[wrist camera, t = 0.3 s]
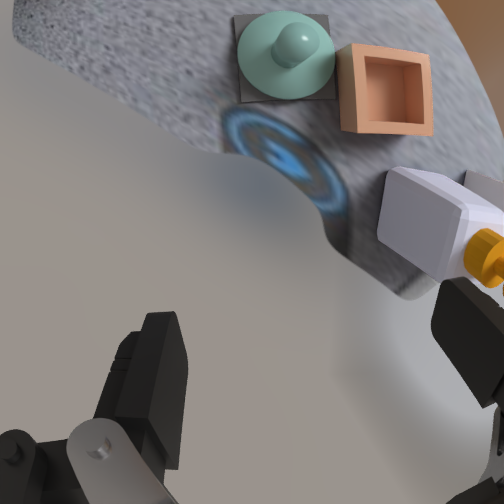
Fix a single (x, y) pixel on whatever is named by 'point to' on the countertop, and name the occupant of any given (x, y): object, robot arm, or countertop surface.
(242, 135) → the countertop surface
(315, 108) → the countertop surface
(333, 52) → the lid
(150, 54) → the countertop surface
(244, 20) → the mat
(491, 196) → the milk carton
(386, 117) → the dish
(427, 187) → the soap bottle
